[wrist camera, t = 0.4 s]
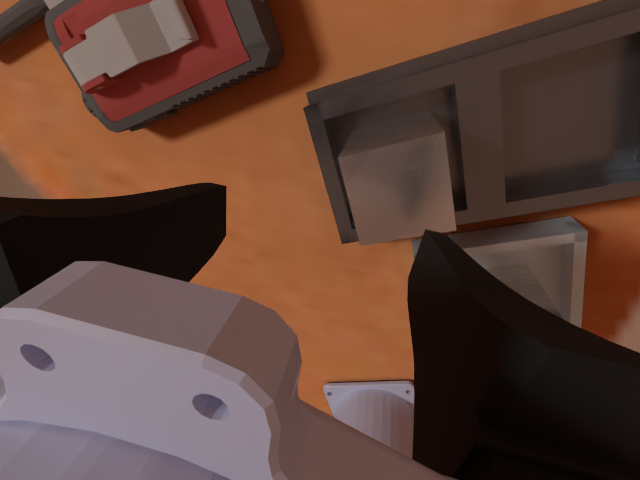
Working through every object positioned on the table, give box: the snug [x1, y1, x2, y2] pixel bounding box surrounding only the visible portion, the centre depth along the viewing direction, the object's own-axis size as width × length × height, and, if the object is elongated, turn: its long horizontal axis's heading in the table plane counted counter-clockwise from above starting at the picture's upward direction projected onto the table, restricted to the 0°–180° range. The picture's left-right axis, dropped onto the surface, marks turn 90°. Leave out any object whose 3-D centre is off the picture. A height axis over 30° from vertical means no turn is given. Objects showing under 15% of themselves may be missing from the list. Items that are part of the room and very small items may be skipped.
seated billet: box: [338, 110, 456, 246], centre depth 16 cm, size 4×4×6 cm
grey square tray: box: [412, 216, 588, 328], centre depth 22 cm, size 9×9×2 cm
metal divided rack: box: [303, 0, 640, 244], centre depth 17 cm, size 9×16×3 cm, turn 106°
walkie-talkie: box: [0, 0, 284, 133], centre depth 18 cm, size 9×4×20 cm
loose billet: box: [484, 263, 564, 320], centre depth 19 cm, size 4×4×6 cm
